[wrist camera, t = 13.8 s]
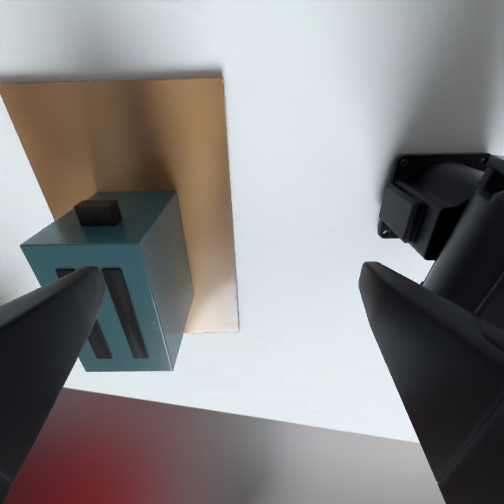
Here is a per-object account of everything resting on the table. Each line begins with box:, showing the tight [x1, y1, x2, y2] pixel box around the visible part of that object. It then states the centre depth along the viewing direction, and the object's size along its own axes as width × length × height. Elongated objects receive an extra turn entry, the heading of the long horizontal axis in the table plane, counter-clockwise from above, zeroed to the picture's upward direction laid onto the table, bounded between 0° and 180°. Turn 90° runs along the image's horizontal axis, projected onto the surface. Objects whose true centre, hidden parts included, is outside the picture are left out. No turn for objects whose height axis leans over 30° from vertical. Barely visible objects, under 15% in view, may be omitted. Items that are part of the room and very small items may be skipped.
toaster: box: [20, 191, 194, 372], centre depth 19 cm, size 11×6×8 cm, turn 1°
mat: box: [0, 78, 239, 333], centre depth 23 cm, size 14×22×1 cm, turn 1°
